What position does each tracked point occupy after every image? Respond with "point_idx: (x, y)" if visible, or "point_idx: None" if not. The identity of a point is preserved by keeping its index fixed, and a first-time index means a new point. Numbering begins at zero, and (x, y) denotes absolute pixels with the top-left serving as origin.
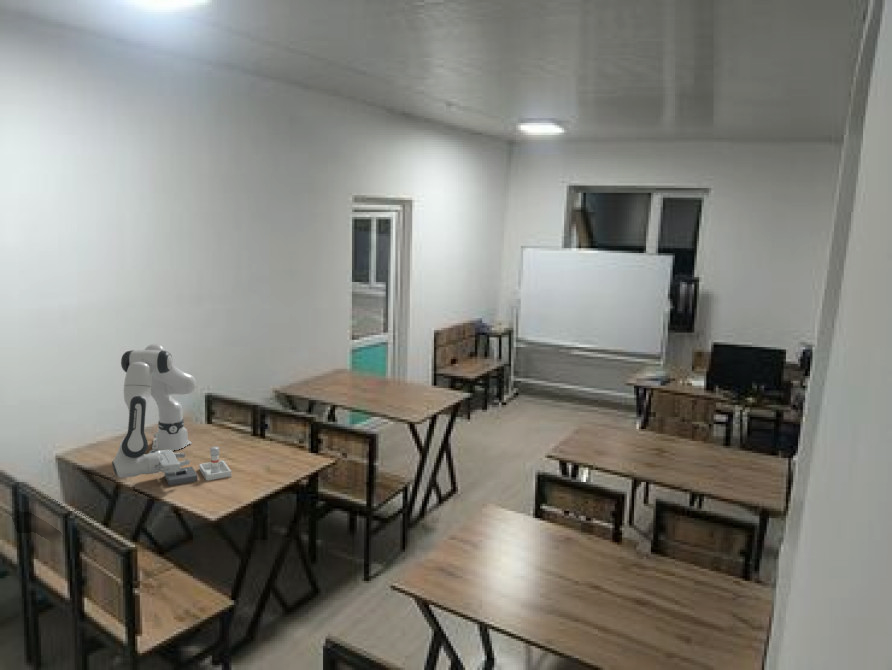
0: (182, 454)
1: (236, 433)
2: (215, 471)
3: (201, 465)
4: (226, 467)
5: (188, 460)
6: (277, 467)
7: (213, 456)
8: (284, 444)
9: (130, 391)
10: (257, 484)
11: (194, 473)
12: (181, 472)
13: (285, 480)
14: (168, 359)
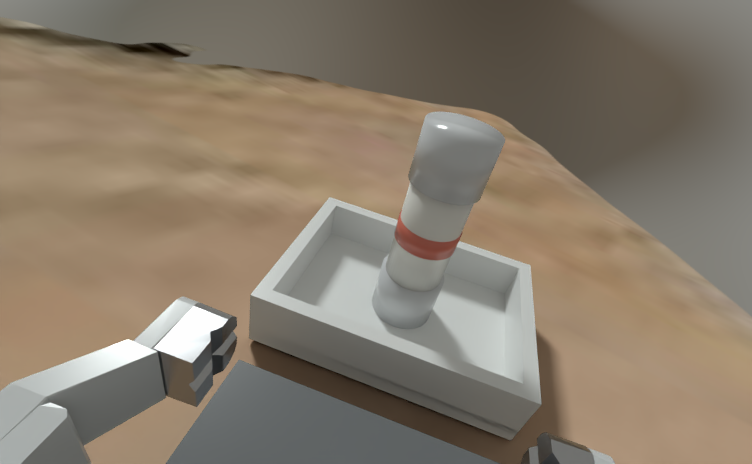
0: (208, 347)
1: (43, 45)
2: (433, 304)
3: (296, 303)
4: None
5: (606, 460)
6: None
7: (467, 209)
8: (303, 78)
9: None
10: (633, 282)
11: (436, 456)
12: None
13: (616, 217)
14: None
